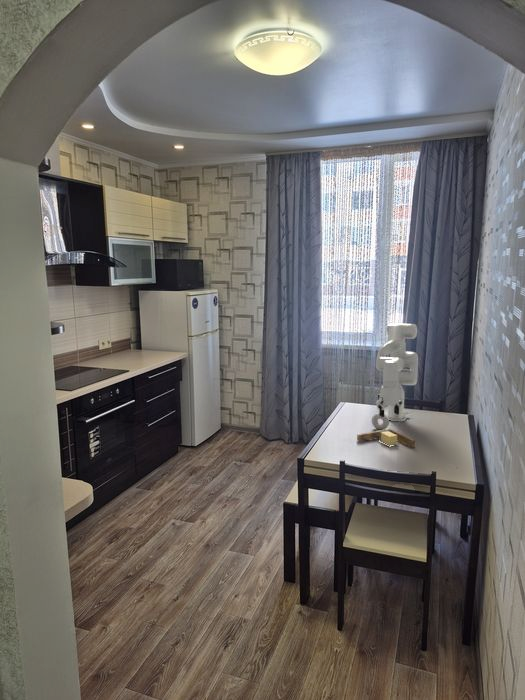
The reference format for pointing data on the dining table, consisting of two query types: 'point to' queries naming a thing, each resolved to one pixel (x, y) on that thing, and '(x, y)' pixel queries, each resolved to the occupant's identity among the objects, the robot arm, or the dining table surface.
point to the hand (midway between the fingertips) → (389, 415)
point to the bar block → (388, 438)
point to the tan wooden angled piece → (400, 436)
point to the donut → (376, 424)
